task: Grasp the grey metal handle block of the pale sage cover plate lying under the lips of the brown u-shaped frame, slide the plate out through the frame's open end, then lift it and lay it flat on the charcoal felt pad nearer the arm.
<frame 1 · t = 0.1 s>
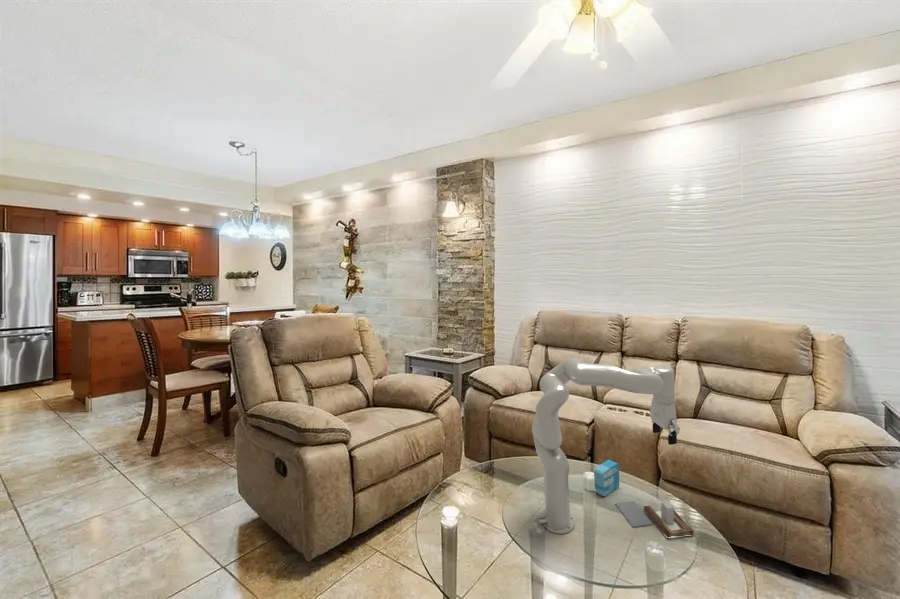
hand: (664, 438, 162), 31 cm above the table, fingers open, 9 cm apart
cover plate: (667, 523, 159), resting in brown u-shaped frame
felt pad: (633, 514, 165), on the table
brown u-shaped frame: (667, 522, 159), on the table
data package: (607, 490, 182), on the table
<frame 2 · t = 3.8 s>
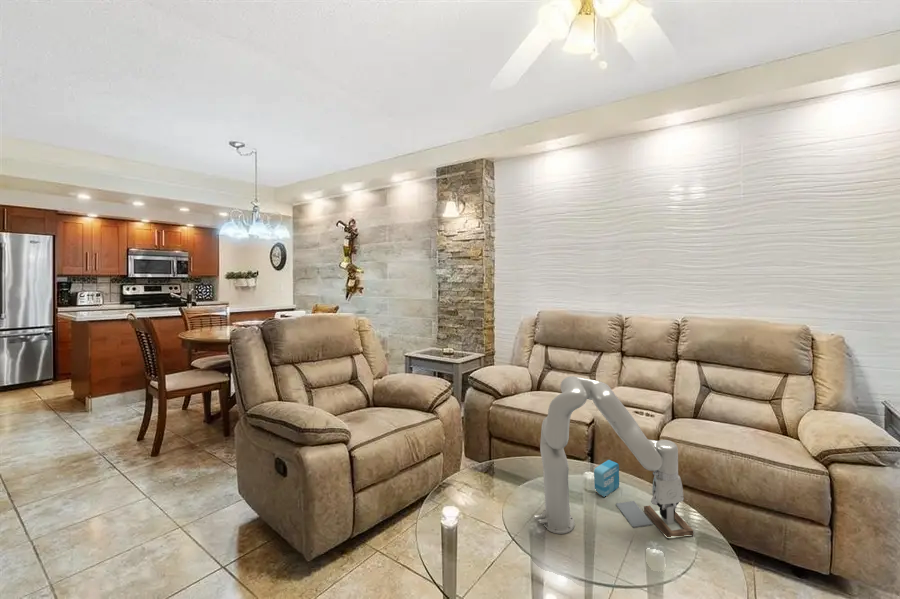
hand: (667, 515, 159), 3 cm above the table, fingers closed on cover plate, 2 cm apart
cover plate: (667, 522, 159), resting in brown u-shaped frame, touching gripper
everything else where it was.
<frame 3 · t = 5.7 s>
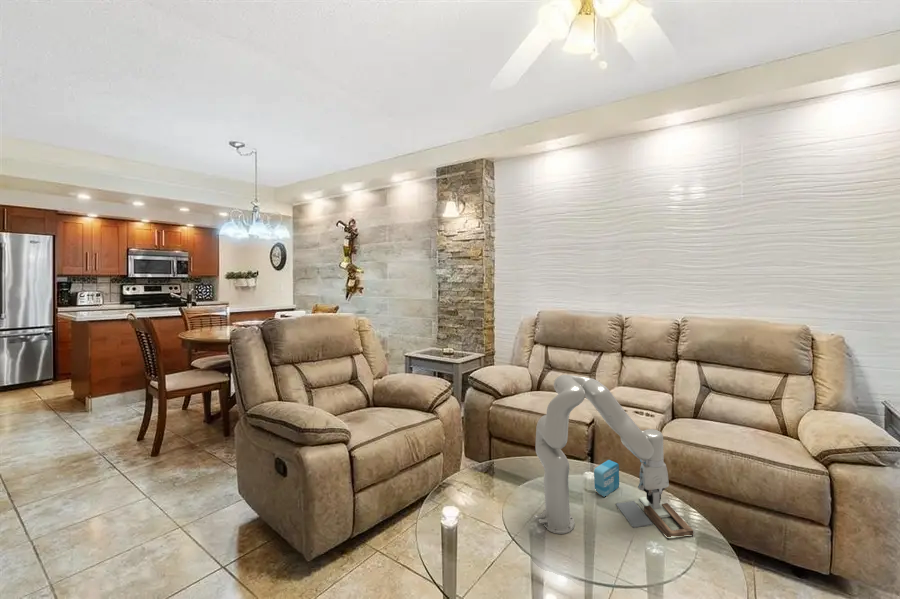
hand: (653, 501, 168), 3 cm above the table, fingers closed on cover plate, 2 cm apart
cover plate: (654, 507, 168), on the table, touching gripper
everything else where it was.
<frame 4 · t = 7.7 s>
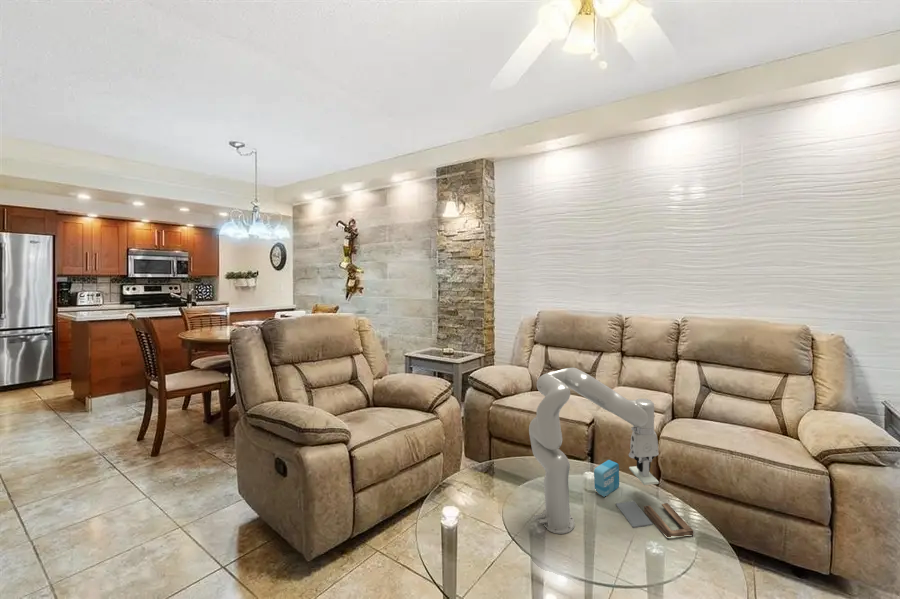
hand: (643, 469, 172), 14 cm above the table, fingers closed on cover plate, 2 cm apart
cover plate: (643, 476, 173), point 10 cm above the table, touching gripper
everything else where it was.
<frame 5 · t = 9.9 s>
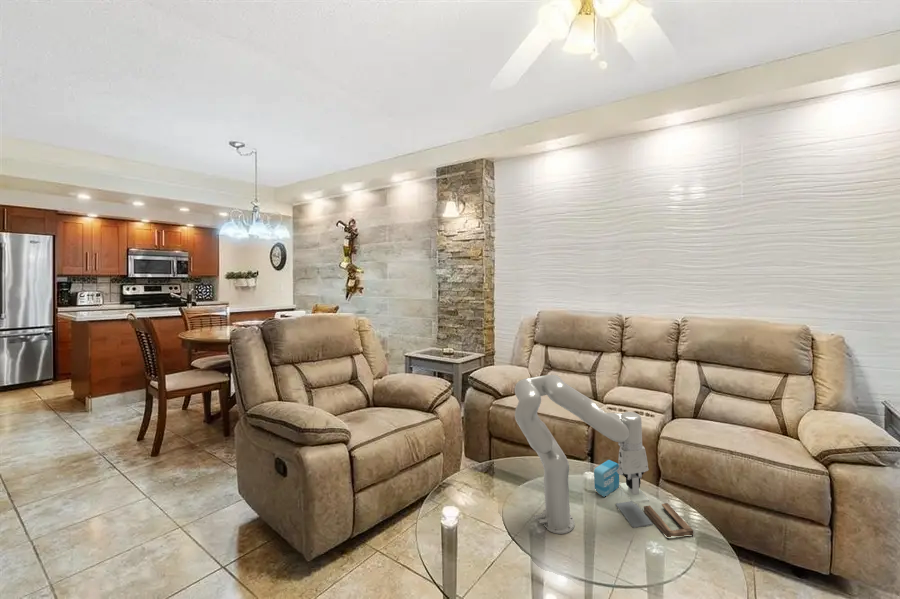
hand: (633, 485, 164), 13 cm above the table, fingers closed on cover plate, 2 cm apart
cover plate: (633, 493, 164), point 9 cm above the table, touching gripper
everything else where it was.
when the fingers open (4 cm above the table, at t = 11.9 s): cover plate stays where it is, resting on felt pad.
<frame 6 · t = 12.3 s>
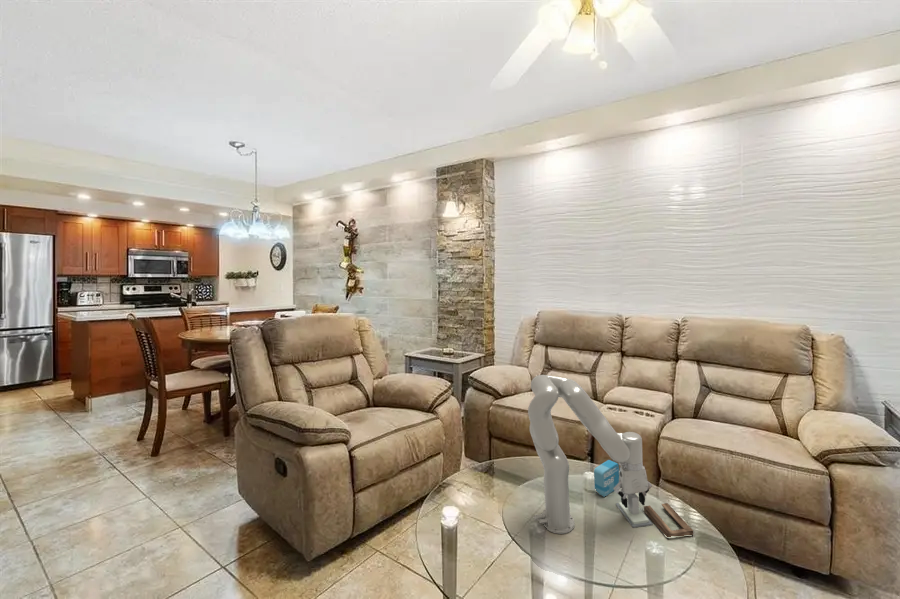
hand: (633, 504, 165), 5 cm above the table, fingers open, 6 cm apart
cover plate: (633, 513, 165), point 1 cm above the table, touching felt pad
everything else where it was.
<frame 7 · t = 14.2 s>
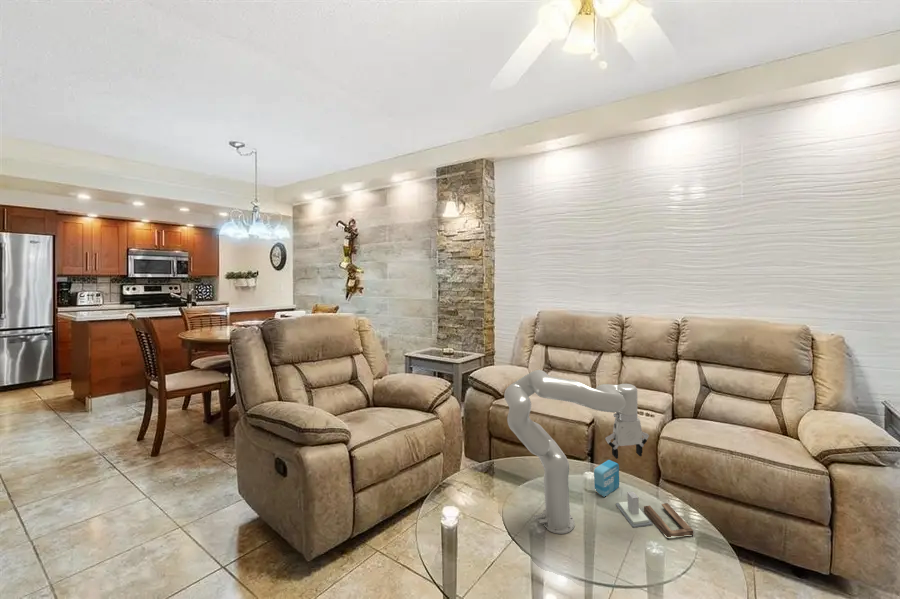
hand: (627, 455, 163), 25 cm above the table, fingers open, 9 cm apart
nothing on the table moved.
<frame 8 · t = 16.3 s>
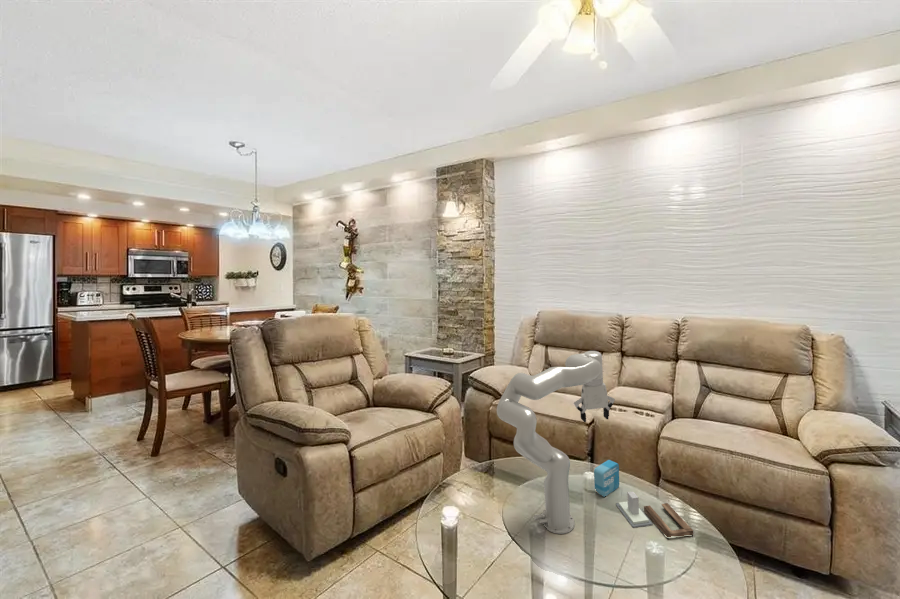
hand: (594, 419, 172), 36 cm above the table, fingers open, 9 cm apart
nothing on the table moved.
at the end: cover plate inside the target area on the felt pad (0.1 cm from its centre), point 0.6 cm above the felt pad's base; cover plate tilted 0°; the gripper is holding nothing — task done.
